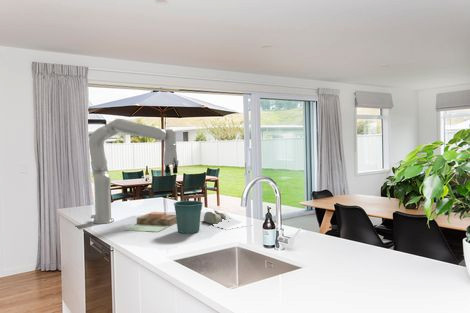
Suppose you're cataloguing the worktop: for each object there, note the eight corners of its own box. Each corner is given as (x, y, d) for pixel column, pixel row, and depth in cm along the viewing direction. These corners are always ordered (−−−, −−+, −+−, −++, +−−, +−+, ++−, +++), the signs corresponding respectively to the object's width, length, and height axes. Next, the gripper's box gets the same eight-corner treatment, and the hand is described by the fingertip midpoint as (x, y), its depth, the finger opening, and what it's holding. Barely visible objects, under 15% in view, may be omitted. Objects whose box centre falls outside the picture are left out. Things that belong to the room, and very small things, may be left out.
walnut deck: (136, 224, 234) (136, 217, 233) (148, 219, 247) (148, 213, 247) (169, 226, 228) (169, 219, 227) (179, 221, 241) (179, 215, 241)
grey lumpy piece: (196, 209, 242) (222, 206, 254) (196, 221, 242) (222, 217, 254) (225, 217, 216) (253, 213, 227) (225, 231, 216) (253, 226, 228)
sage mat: (123, 230, 219) (123, 229, 219) (136, 224, 233) (136, 224, 233) (157, 232, 213) (157, 231, 213) (169, 226, 227) (169, 225, 227)
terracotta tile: (148, 217, 235) (148, 213, 234) (153, 215, 240) (153, 211, 240) (162, 218, 232) (161, 214, 232) (166, 216, 238) (166, 212, 238)
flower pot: (209, 229, 217) (208, 201, 217) (191, 236, 203) (191, 206, 203) (186, 226, 226) (185, 199, 225) (167, 232, 212) (167, 204, 211)
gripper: (159, 147, 261) (160, 172, 262) (172, 148, 248) (173, 174, 248) (168, 147, 266) (169, 171, 266) (182, 147, 252) (183, 173, 253)
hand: (171, 173), depth 257 cm, fingers open, 9 cm apart
